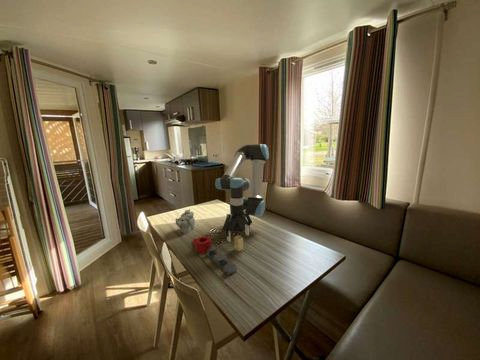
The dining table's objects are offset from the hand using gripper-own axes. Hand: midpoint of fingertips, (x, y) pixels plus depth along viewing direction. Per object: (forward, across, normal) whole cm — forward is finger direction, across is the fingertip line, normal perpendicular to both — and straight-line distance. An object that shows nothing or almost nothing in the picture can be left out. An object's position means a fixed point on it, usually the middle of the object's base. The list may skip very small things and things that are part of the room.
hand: (238, 237), depth 124 cm
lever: (+8, -17, +18) cm, 26 cm away
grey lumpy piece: (+8, -16, +45) cm, 49 cm away
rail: (+8, -16, -5) cm, 18 cm away
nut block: (+8, 0, 0) cm, 8 cm away
